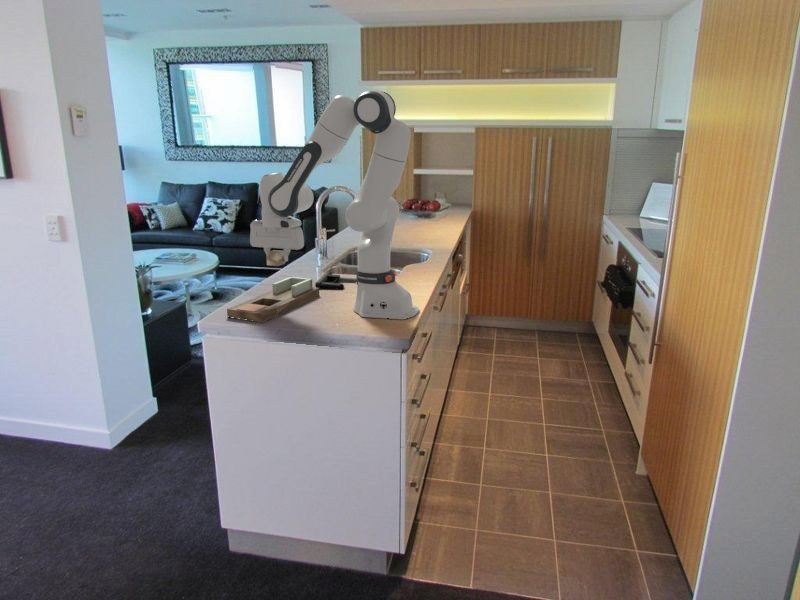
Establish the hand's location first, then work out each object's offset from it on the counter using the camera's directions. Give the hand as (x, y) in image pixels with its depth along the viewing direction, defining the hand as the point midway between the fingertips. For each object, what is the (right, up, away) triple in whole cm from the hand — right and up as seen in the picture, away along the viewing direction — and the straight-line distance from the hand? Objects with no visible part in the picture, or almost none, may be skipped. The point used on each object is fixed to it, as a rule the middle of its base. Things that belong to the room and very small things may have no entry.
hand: (277, 260), depth 203 cm
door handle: (+17, -8, +35) cm, 39 cm away
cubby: (+3, -10, +12) cm, 16 cm away
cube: (-1, -1, -1) cm, 2 cm away
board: (-1, -16, +3) cm, 16 cm away
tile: (-6, -17, -11) cm, 21 cm away
